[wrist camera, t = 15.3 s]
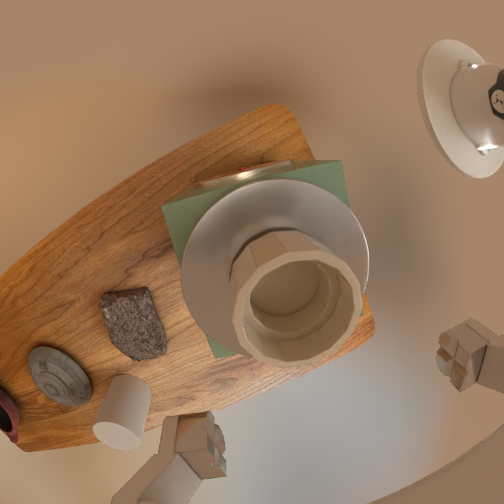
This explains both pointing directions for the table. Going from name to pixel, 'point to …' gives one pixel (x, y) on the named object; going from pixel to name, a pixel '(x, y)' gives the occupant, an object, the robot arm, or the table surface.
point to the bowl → (9, 416)
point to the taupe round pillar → (123, 413)
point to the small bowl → (292, 299)
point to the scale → (256, 231)
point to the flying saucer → (59, 376)
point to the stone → (133, 323)
